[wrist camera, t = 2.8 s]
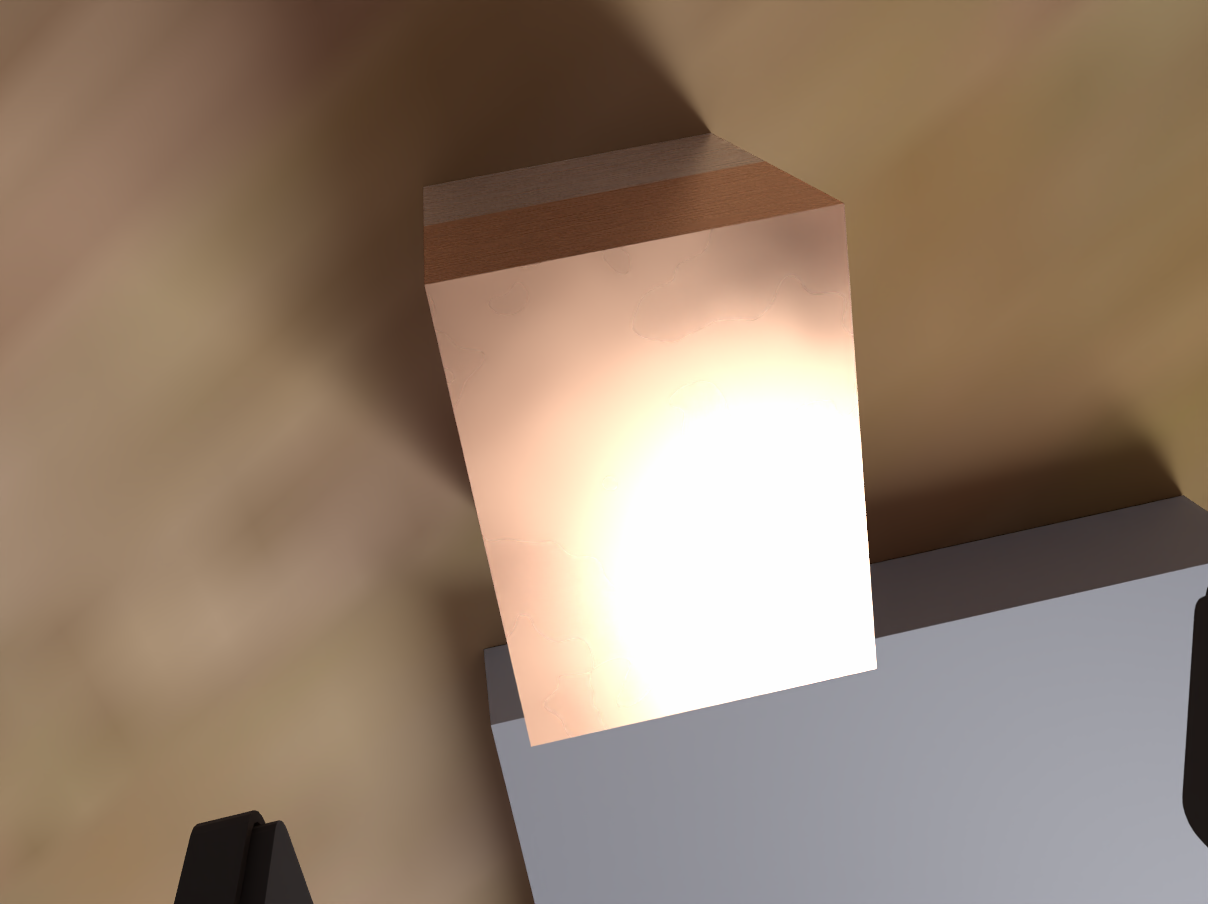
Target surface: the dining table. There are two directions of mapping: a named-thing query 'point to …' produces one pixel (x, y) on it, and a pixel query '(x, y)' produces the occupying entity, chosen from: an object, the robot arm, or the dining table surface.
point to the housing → (656, 426)
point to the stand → (911, 746)
